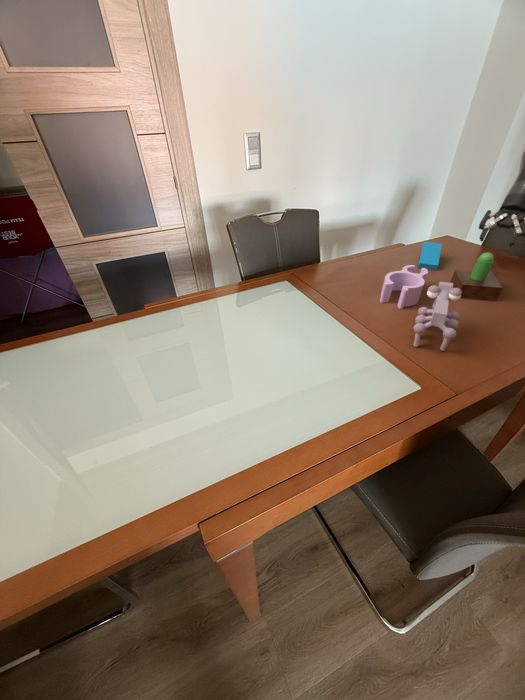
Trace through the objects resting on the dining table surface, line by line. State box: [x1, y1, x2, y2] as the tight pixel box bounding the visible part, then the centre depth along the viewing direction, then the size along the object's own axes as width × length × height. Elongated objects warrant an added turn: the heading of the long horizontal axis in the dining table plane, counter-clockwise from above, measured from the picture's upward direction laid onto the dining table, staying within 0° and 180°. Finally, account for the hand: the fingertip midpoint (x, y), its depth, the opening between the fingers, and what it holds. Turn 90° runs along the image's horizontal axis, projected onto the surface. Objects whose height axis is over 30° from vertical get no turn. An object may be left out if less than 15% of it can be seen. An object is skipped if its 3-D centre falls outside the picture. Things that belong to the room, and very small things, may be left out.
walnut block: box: [449, 269, 504, 302], centre depth 107 cm, size 12×12×5 cm
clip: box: [379, 264, 429, 310], centre depth 106 cm, size 20×12×7 cm, turn 137°
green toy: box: [470, 252, 495, 281], centre depth 102 cm, size 5×5×9 cm
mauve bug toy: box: [413, 281, 462, 352], centre depth 86 cm, size 20×11×14 cm, turn 152°
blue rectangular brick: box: [417, 241, 443, 271], centre depth 128 cm, size 7×7×18 cm
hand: (495, 242), depth 103 cm, fingers open, 8 cm apart
